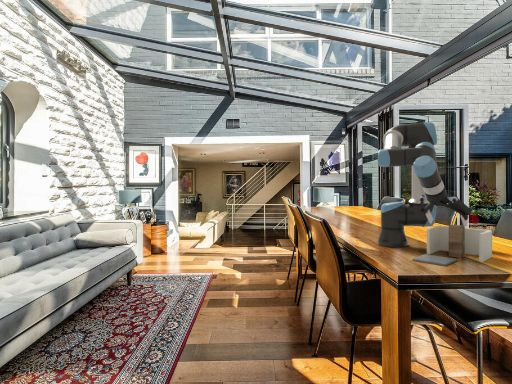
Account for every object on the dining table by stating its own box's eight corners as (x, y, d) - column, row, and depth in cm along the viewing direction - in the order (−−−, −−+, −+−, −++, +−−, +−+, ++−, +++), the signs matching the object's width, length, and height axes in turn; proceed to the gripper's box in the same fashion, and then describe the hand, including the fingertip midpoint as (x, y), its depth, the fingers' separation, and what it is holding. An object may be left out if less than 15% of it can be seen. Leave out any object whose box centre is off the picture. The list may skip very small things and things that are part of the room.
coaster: (412, 260, 141) (412, 258, 140) (424, 255, 149) (424, 254, 149) (444, 266, 131) (444, 264, 131) (456, 260, 139) (456, 258, 139)
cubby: (482, 262, 136) (482, 234, 135) (426, 253, 153) (426, 228, 152) (492, 256, 145) (492, 230, 144) (438, 249, 162) (438, 225, 161)
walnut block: (460, 257, 144) (460, 226, 143) (448, 256, 148) (448, 225, 147) (464, 256, 147) (464, 225, 147) (452, 254, 151) (452, 224, 150)
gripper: (400, 195, 138) (416, 226, 148) (467, 196, 119) (479, 232, 129) (406, 182, 141) (421, 214, 151) (471, 182, 122) (483, 218, 132)
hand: (448, 222), depth 140 cm, fingers open, 13 cm apart
